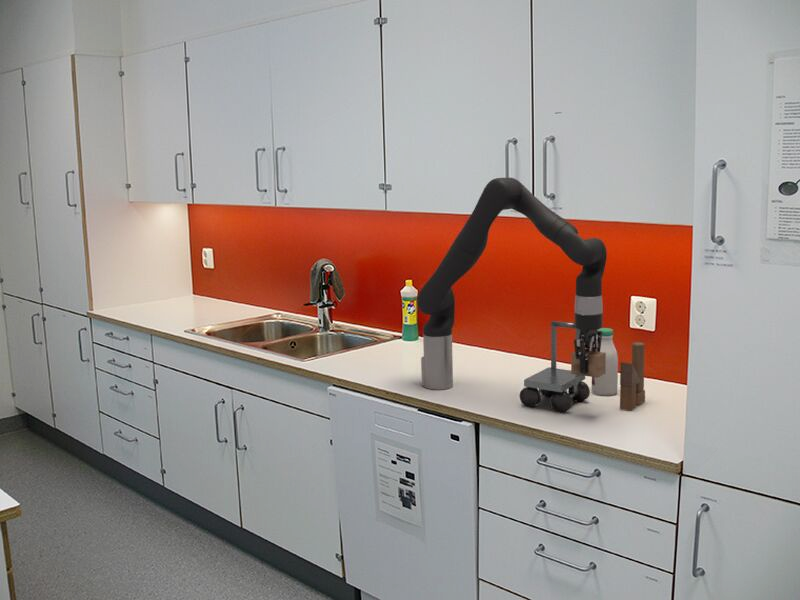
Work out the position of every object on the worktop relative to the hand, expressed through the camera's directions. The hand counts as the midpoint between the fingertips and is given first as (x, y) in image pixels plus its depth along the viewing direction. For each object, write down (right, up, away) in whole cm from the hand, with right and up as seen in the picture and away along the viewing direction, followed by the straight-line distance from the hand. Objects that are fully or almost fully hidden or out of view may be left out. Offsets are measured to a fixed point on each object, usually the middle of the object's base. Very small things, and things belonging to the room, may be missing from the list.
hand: (588, 370), depth 237 cm
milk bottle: (+10, -9, +24) cm, 28 cm away
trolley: (-7, -11, +15) cm, 20 cm away
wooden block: (+15, -11, +11) cm, 22 cm away
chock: (0, -1, 0) cm, 1 cm away
